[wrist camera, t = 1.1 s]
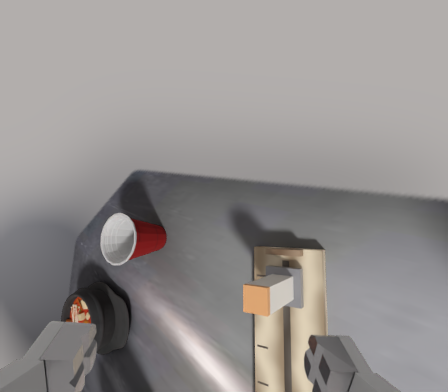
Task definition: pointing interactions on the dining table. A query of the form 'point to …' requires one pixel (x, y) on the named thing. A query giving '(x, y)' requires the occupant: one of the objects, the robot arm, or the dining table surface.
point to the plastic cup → (129, 238)
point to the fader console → (289, 321)
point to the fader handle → (274, 291)
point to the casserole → (100, 315)
